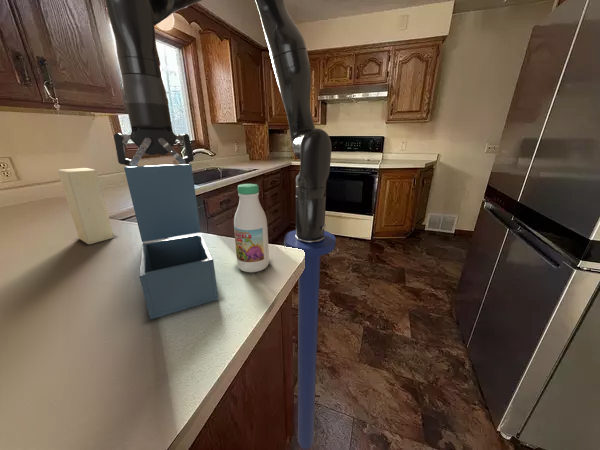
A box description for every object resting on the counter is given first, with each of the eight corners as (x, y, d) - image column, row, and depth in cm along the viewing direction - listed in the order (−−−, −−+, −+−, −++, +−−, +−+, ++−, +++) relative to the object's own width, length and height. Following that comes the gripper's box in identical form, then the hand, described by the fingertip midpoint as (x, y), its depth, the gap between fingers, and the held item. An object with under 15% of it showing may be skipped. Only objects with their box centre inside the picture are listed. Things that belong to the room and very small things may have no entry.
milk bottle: (248, 255, 65) (242, 181, 58) (274, 260, 63) (271, 183, 56) (231, 269, 58) (222, 187, 52) (259, 275, 56) (254, 189, 49)
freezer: (218, 299, 48) (213, 259, 45) (150, 319, 42) (139, 276, 39) (205, 266, 60) (200, 233, 57) (151, 279, 54) (142, 243, 51)
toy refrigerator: (117, 236, 77) (99, 169, 70) (88, 244, 71) (65, 172, 64) (106, 231, 81) (88, 167, 74) (78, 238, 75) (56, 169, 68)
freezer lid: (191, 164, 50) (188, 160, 55) (123, 167, 45) (126, 163, 49) (200, 232, 56) (197, 224, 61) (141, 242, 51) (142, 232, 55)
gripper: (183, 107, 56) (193, 177, 62) (107, 102, 49) (126, 182, 55) (187, 103, 50) (198, 182, 56) (101, 98, 43) (123, 188, 49)
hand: (162, 182), depth 55 cm, fingers open, 8 cm apart
